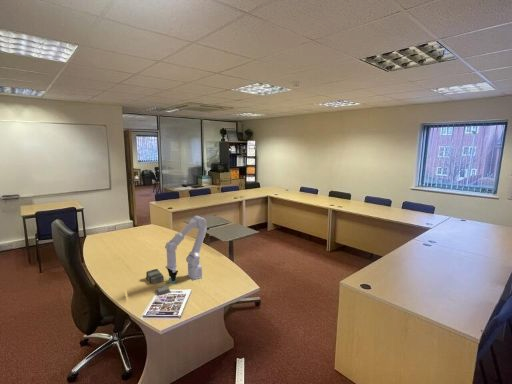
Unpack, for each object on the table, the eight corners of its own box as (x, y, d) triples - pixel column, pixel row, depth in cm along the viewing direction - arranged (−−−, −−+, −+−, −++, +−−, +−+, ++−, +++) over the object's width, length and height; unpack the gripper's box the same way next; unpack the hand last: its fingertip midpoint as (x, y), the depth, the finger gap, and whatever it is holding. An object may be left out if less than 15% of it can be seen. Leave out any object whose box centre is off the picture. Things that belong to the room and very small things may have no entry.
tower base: (168, 289, 177) (168, 287, 177) (171, 295, 170) (171, 292, 170) (155, 293, 173) (155, 290, 173) (157, 298, 167) (157, 295, 166)
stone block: (150, 286, 181) (150, 279, 180) (144, 278, 192) (144, 271, 192) (164, 282, 186) (163, 275, 185) (157, 275, 198) (157, 268, 197)
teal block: (175, 281, 187) (174, 276, 187) (176, 284, 184) (176, 278, 183) (169, 283, 185) (168, 277, 185) (170, 285, 182) (170, 280, 181)
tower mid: (166, 287, 176) (166, 285, 176) (169, 292, 171) (168, 289, 170) (157, 290, 173) (157, 287, 172) (159, 294, 168) (158, 291, 167)
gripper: (163, 257, 186) (164, 275, 188) (167, 264, 174) (168, 284, 176) (173, 255, 190) (174, 273, 192) (178, 262, 177) (179, 281, 179)
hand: (172, 278), depth 184 cm, fingers open, 7 cm apart
